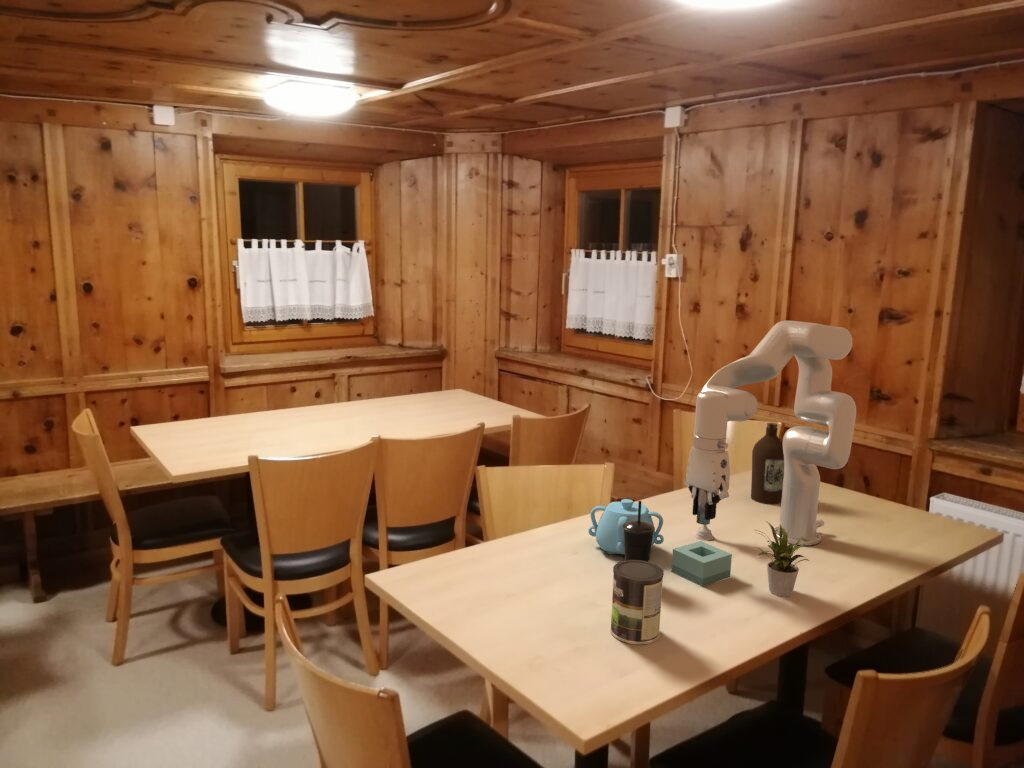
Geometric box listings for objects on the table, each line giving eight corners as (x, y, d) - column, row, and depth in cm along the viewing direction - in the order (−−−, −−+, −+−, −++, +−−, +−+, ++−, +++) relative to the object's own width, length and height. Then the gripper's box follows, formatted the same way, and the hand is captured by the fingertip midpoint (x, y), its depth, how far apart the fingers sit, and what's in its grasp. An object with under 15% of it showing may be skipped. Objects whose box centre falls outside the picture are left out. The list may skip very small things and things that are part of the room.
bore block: (699, 563, 200) (700, 540, 199) (730, 577, 192) (731, 554, 191) (671, 571, 195) (672, 548, 194) (701, 586, 187) (703, 562, 186)
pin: (702, 519, 193) (705, 480, 191) (712, 523, 190) (715, 483, 189) (693, 521, 191) (696, 482, 190) (703, 525, 189) (706, 485, 187)
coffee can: (616, 645, 159) (619, 580, 156) (605, 621, 169) (608, 559, 166) (666, 644, 160) (669, 579, 157) (652, 620, 170) (656, 559, 167)
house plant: (732, 581, 190) (736, 517, 187) (777, 573, 195) (783, 511, 192) (771, 607, 177) (777, 538, 174) (819, 598, 182) (826, 531, 179)
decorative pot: (612, 565, 198) (615, 514, 196) (583, 542, 213) (585, 494, 210) (667, 556, 204) (670, 507, 202) (635, 534, 219) (637, 488, 216)
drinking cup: (654, 576, 192) (658, 498, 188) (649, 589, 185) (653, 508, 181) (623, 571, 194) (627, 494, 191) (617, 584, 187) (620, 504, 184)
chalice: (717, 542, 214) (721, 479, 211) (691, 540, 216) (695, 477, 212) (716, 533, 221) (720, 471, 218) (691, 531, 223) (695, 470, 219)
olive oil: (742, 494, 256) (748, 420, 251) (772, 493, 258) (778, 419, 253) (759, 505, 245) (765, 428, 241) (790, 504, 248) (796, 427, 243)
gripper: (747, 449, 183) (741, 524, 186) (694, 434, 196) (689, 504, 199) (725, 453, 179) (719, 529, 182) (673, 437, 192) (668, 509, 195)
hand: (703, 515), depth 191 cm, fingers closed on pin, 3 cm apart
